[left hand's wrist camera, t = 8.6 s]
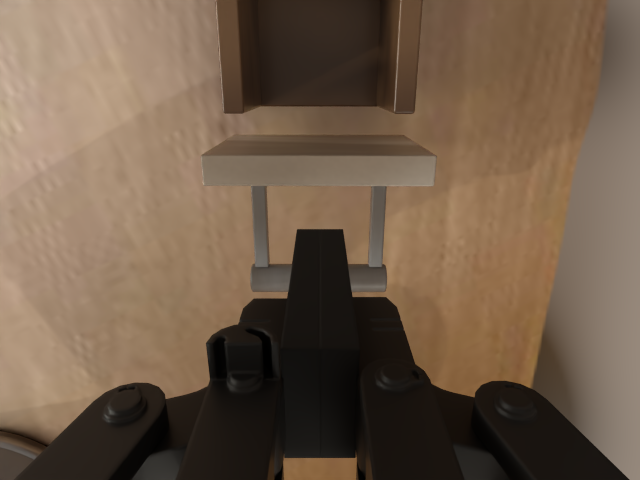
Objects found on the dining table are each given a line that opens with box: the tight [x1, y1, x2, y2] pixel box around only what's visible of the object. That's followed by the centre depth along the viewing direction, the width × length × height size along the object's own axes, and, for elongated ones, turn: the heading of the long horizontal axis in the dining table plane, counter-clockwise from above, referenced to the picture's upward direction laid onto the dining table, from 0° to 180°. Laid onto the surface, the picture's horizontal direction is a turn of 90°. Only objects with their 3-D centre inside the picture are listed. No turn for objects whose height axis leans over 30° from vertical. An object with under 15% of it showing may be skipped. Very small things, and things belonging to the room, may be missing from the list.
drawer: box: [201, 0, 437, 292], centre depth 18 cm, size 22×9×7 cm, turn 0°
